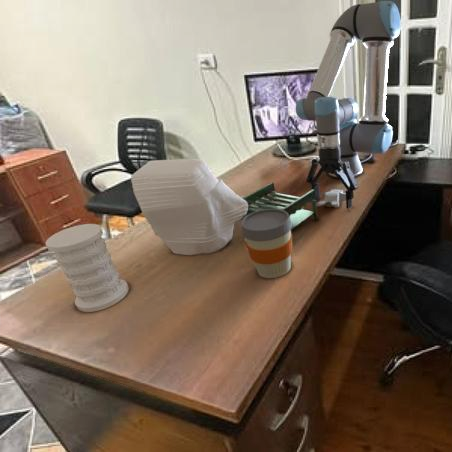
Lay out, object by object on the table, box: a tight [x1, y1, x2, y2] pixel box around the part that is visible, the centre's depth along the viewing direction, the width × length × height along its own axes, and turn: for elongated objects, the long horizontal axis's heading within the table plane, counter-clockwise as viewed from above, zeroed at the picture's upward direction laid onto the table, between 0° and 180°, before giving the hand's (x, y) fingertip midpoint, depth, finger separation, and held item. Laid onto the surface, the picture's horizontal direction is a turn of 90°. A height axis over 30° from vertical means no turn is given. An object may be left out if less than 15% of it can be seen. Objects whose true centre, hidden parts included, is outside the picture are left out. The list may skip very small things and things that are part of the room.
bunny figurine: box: [316, 189, 346, 208], centre depth 127 cm, size 10×5×15 cm
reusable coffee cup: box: [240, 209, 293, 279], centre depth 91 cm, size 13×13×15 cm
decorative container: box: [45, 223, 130, 313], centre depth 84 cm, size 12×12×18 cm
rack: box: [242, 181, 319, 232], centre depth 114 cm, size 16×18×11 cm
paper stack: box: [130, 158, 248, 256], centre depth 101 cm, size 21×27×26 cm
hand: (332, 204), depth 127 cm, fingers open, 13 cm apart
